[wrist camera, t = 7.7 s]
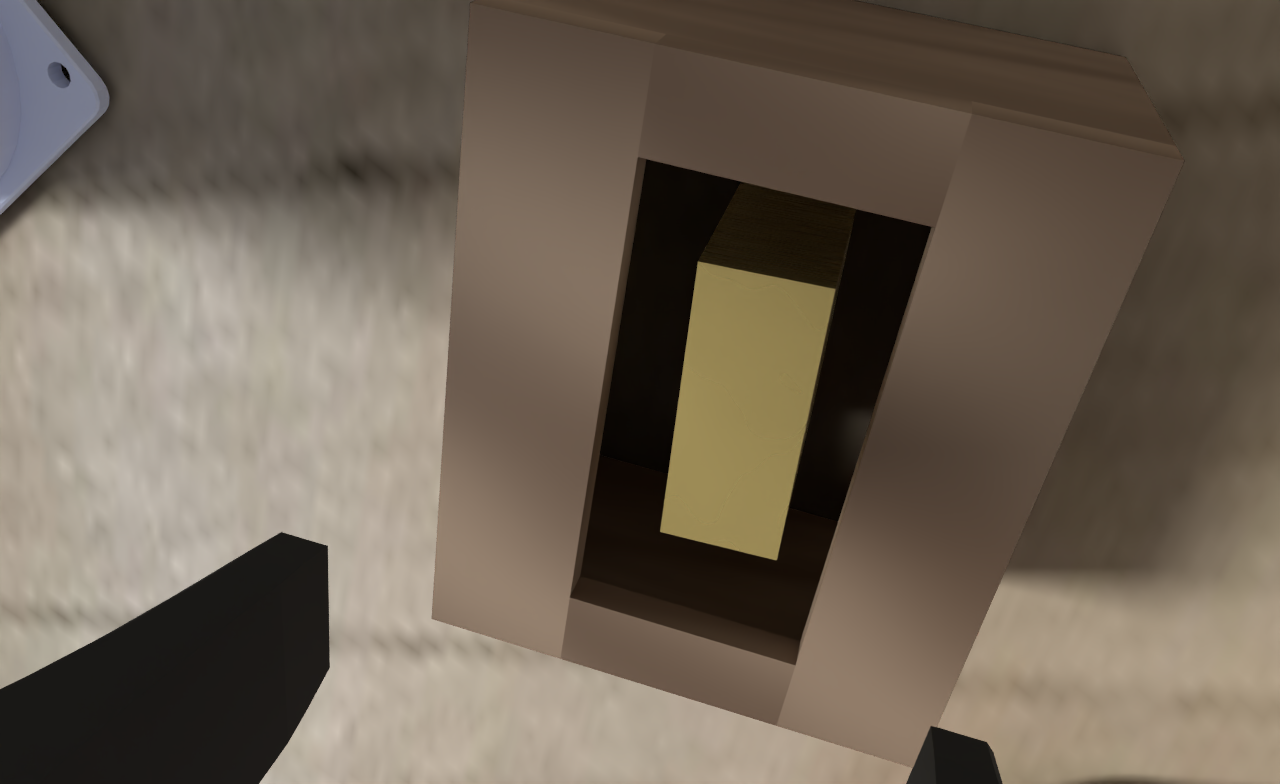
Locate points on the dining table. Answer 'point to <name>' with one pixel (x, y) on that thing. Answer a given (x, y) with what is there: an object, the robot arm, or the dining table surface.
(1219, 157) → the dining table surface
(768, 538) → the yellow rectangular block
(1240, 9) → the dining table surface
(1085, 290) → the box
